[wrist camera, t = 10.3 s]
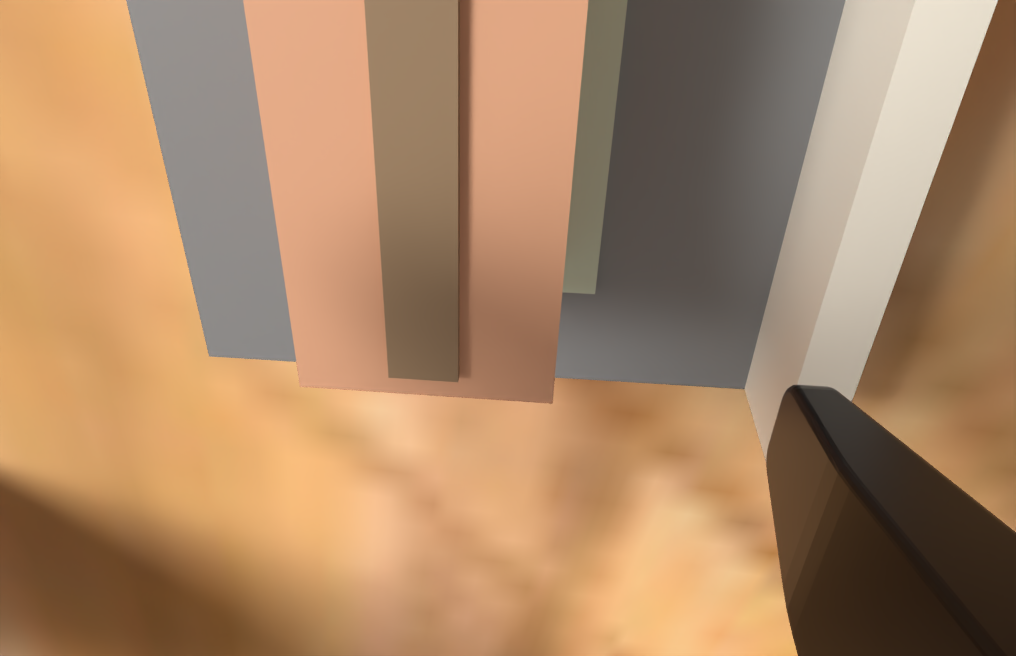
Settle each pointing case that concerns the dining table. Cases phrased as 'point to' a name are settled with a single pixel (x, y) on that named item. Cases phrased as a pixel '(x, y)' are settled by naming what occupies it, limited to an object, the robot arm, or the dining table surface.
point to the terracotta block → (421, 187)
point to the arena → (641, 182)
